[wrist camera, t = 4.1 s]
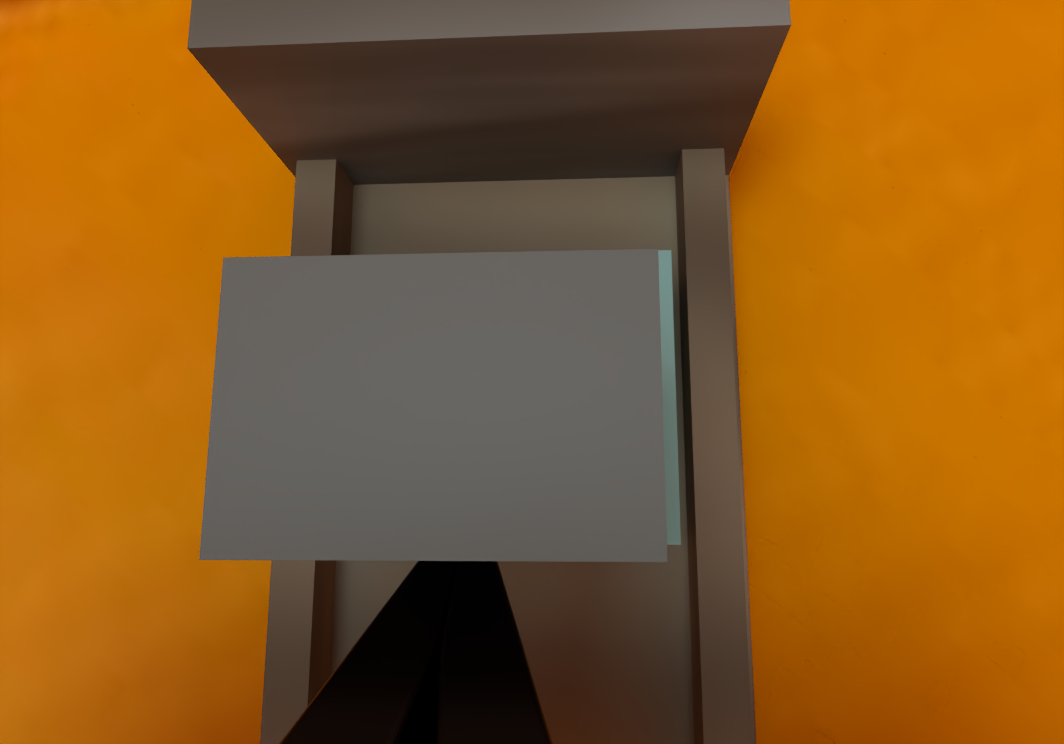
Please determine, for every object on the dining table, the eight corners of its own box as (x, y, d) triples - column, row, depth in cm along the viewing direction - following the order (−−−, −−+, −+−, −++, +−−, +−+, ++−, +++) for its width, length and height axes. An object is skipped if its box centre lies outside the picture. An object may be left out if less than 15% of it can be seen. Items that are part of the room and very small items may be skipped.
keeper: (667, 541, 15) (756, 563, 7) (352, 540, 15) (117, 558, 7) (660, 284, 16) (730, 60, 8) (363, 289, 16) (165, 81, 8)
